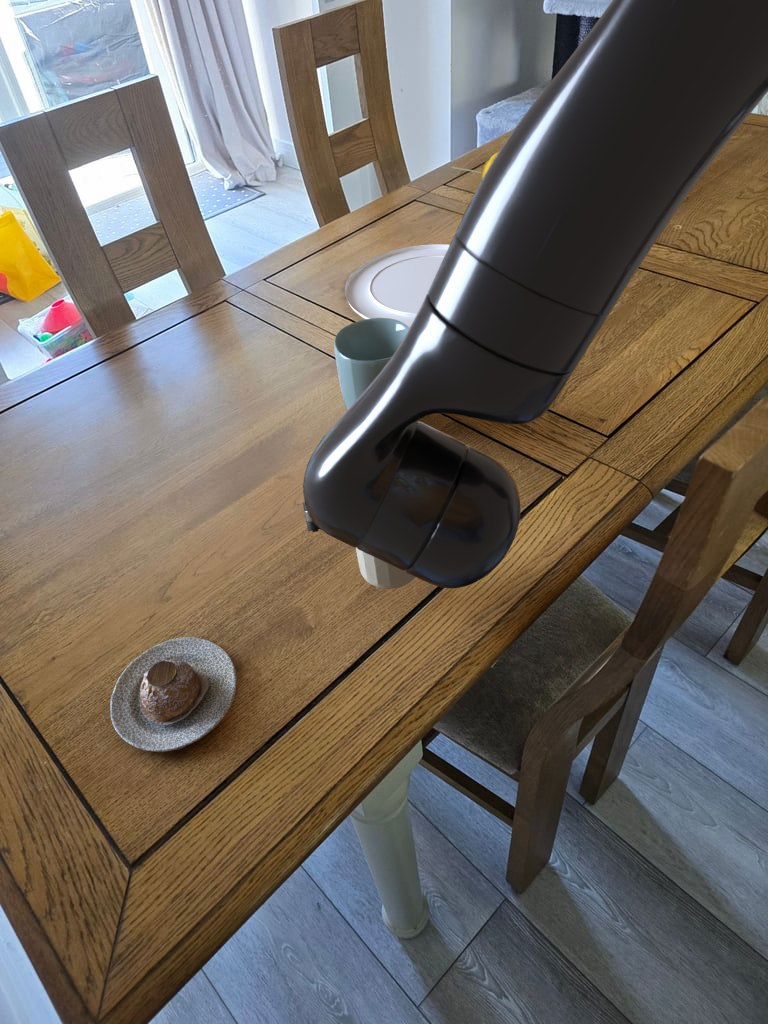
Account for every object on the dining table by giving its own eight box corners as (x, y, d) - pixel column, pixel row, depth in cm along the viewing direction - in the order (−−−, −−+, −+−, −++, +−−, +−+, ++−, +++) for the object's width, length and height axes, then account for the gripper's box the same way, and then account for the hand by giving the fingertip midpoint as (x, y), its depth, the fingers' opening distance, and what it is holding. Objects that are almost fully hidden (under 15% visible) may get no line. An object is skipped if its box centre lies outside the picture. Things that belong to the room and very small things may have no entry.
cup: (353, 451, 89) (341, 369, 80) (339, 407, 96) (326, 326, 87) (427, 436, 90) (423, 352, 81) (409, 392, 97) (403, 311, 88)
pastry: (91, 699, 67) (72, 674, 64) (194, 623, 73) (181, 596, 69) (156, 783, 61) (138, 760, 58) (264, 692, 66) (253, 667, 63)
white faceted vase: (425, 543, 73) (416, 424, 62) (416, 591, 69) (405, 473, 57) (366, 538, 74) (347, 421, 63) (353, 586, 70) (330, 469, 59)
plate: (401, 237, 131) (400, 233, 130) (539, 265, 119) (539, 261, 118) (312, 307, 115) (311, 303, 115) (461, 348, 103) (461, 344, 103)
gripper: (478, 433, 51) (446, 452, 68) (285, 468, 50) (300, 478, 67) (496, 533, 51) (460, 527, 68) (303, 569, 50) (315, 554, 67)
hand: (381, 503), depth 67 cm, fingers closed on white faceted vase, 6 cm apart
